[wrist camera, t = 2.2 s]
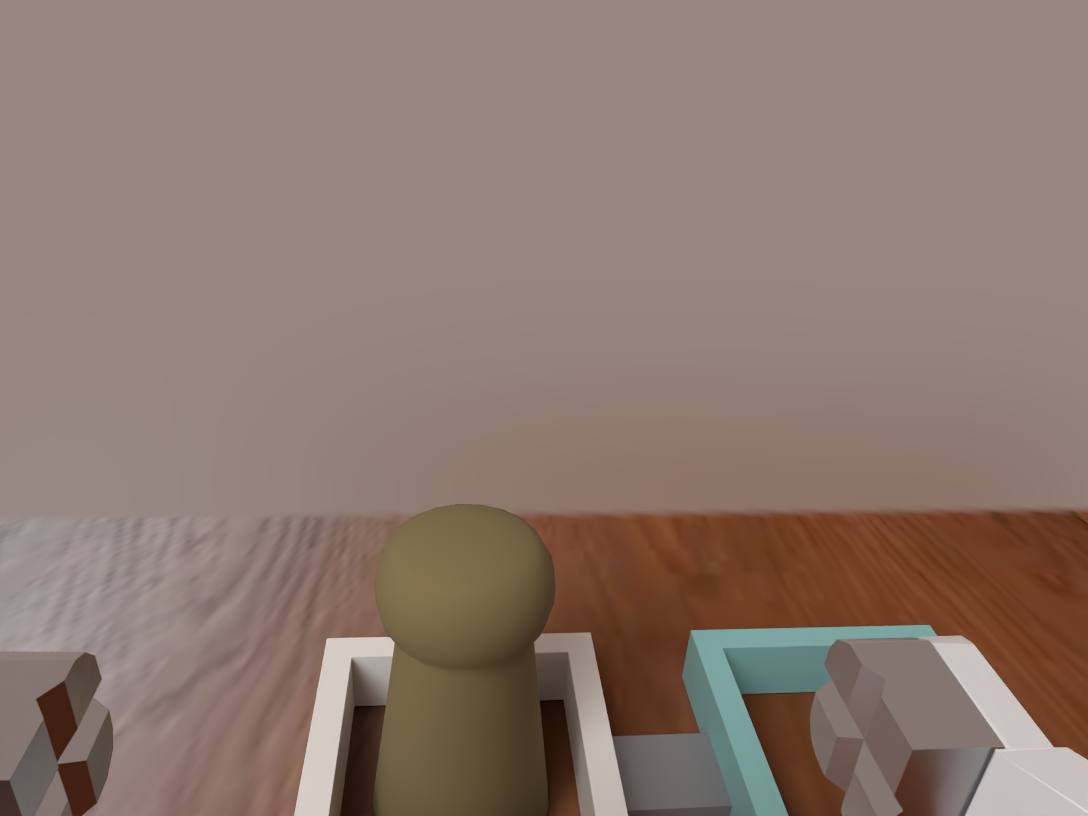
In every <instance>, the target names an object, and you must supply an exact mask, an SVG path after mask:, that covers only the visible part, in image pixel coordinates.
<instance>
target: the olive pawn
mask: <svg viewBox="0 0 1088 816" xmlns="http://www.w3.org/2000/svg"><path fill="white" fill-rule="evenodd" d="M554 596H555V576H554V567H553V562H552V558H551V554H550V553H549V551H548V549H547V547H546V546H545V544H544V542H543V541H542V539H541V538H540V536H539V535H538V533H537V532H536V530H535V529H534V528H533V527H532V526H530V525H529V524H528V523H527V522H525V521H524V520H523V519H522V518H520V517H518V516H516V515H514V514H512V513H509V512H507V511H505V510H503V509H498V508H494V507H489V506H484V505H472V504H456V505H450V506H443V507H437V508H434V509H431V510H429V511H426V512H423V513H420V514H418V515H416V516H415V517H413V518H412V519H410V520H409V521H407V522H406V523H404V524H403V525H401V527H400V528H399V529H398V531H397V532H396V533H395V535H394V536H393V537H392V539H391V540H390V541H389V543H388V544H387V545H386V547H385V548H384V549H383V551H382V554H381V558H380V561H379V565H378V570H377V574H376V579H375V598H376V603H377V607H378V610H379V614H380V618H381V620H382V623H383V625H384V628H385V631H386V633H387V634H388V635H389V637H390V638H391V639H392V640H393V641H394V643H395V644H394V651H393V658H392V665H391V672H390V679H389V686H388V693H387V700H386V707H385V714H384V722H383V729H382V736H381V743H380V750H379V757H378V764H377V771H376V778H375V785H374V792H373V799H372V811H373V816H546V815H547V812H548V808H549V802H548V782H547V772H546V761H545V751H544V741H543V730H542V720H541V709H540V699H539V689H538V678H537V668H536V658H535V647H534V642H535V641H536V640H537V639H538V638H539V637H540V635H541V633H542V630H543V628H544V626H545V623H546V621H547V619H548V616H549V614H550V611H551V609H552V606H553V604H554Z"/></svg>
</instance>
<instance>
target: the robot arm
mask: <svg viewBox="0 0 1088 816" xmlns="http://www.w3.org/2000/svg"><path fill="white" fill-rule="evenodd" d="M824 665H825V667H826V669H827V671H828V673H829V675H830V677H831V680H829V681H828V682H827V683H826V684H825V685H824V686H822V687H821V688H820V689H819V690H818V691H817V692H816V693H815V696H814V700H813V704H812V708H811V712H810V728H811V740H812V744H813V747H814V751H815V755H816V758H817V760H818V762H819V765H820V767H821V769H822V772H823V774H824V776H825V777H826V778H828V779H829V780H830V781H831V782H833V783H834V784H835V785H836V786H838V787H839V788H840V789H841V790H843V791H844V792H845V796H844V800H843V804H842V807H841V813H842V815H843V816H1088V760H1087V759H1085V758H1084V757H1082V756H1080V755H1079V754H1077V753H1075V752H1074V751H1072V750H1071V749H1069V748H1067V747H1053V746H1052V744H1051V743H1050V742H1049V740H1048V739H1047V738H1046V737H1045V735H1044V734H1043V733H1042V731H1041V730H1040V729H1039V728H1038V726H1037V725H1036V724H1035V722H1034V721H1033V720H1032V719H1031V717H1030V716H1029V715H1028V713H1027V712H1026V711H1025V710H1024V708H1023V707H1022V706H1021V704H1020V703H1019V702H1018V701H1017V699H1016V698H1015V697H1014V695H1013V694H1012V693H1011V692H1010V690H1009V689H1008V688H1007V686H1006V685H1005V684H1004V683H1003V681H1002V680H1001V679H1000V677H999V676H998V675H997V674H996V672H995V671H994V670H993V668H992V667H991V666H990V665H989V663H988V662H987V661H986V659H985V658H984V657H983V656H982V654H981V653H980V652H979V650H978V649H977V648H976V647H975V645H974V644H973V643H972V642H971V641H969V640H967V639H966V638H964V637H962V636H933V637H919V638H914V637H907V638H869V639H837V640H836V641H835V642H834V643H833V645H832V646H831V647H830V648H829V651H828V654H827V657H826V660H825V663H824ZM100 681H101V675H100V672H99V668H98V665H97V662H96V658H95V656H94V655H91V654H89V653H86V652H0V816H82V815H83V814H84V813H86V812H87V811H88V810H89V809H90V808H92V807H93V806H94V805H95V804H96V803H97V802H98V799H99V797H100V794H101V792H102V789H103V787H104V784H105V782H106V779H107V776H108V771H109V766H110V761H111V756H112V751H113V726H112V722H111V717H110V713H109V710H108V709H107V708H106V707H105V706H103V705H102V704H101V703H100V702H98V701H97V700H96V699H95V698H93V696H94V694H95V692H96V690H97V688H98V686H99V683H100Z"/></svg>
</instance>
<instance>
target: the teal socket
mask: <svg viewBox="0 0 1088 816" xmlns="http://www.w3.org/2000/svg"><path fill="white" fill-rule="evenodd" d="M933 636H937V635H936V633H935V632H934V631H933V629H932V628H931V626H930V625H909V626H864V627H819V628H774V629H729V630H691V632H690V637H689V642H688V647H687V653H686V658H685V663H684V668H683V674H682V679H683V682H684V685H685V688H686V691H687V694H688V697H689V700H690V703H691V707H692V710H693V713H694V716H695V719H696V722H697V725H698V728H699V732H700V733H708V734H709V737H710V740H711V743H712V746H713V749H714V752H715V755H716V758H717V761H718V764H719V767H720V770H721V773H722V776H723V779H724V782H725V785H726V789H727V792H728V795H729V798H730V801H731V804H732V809H731V812H730V816H788V813H787V811H786V808H785V806H784V803H783V801H782V798H781V795H780V793H779V790H778V788H777V785H776V783H775V780H774V778H773V775H772V773H771V770H770V767H769V765H768V762H767V760H766V757H765V755H764V752H763V750H762V747H761V745H760V742H759V739H758V737H757V734H756V732H755V729H754V727H753V724H752V722H751V719H750V717H749V714H748V712H747V709H746V706H745V704H744V701H743V699H742V696H741V694H759V693H791V692H817V691H818V690H819V689H820V688H821V687H822V686H824V685H825V684H826V683H827V682H828V681H829V680H831V677H830V675H829V673H828V671H827V669H826V667H825V665H824V663H825V660H826V657H827V654H828V651H829V648H830V647H831V646H832V645H833V643H834V642H835V641H836V640H837V639H869V638H907V637H914V638H919V637H933Z"/></svg>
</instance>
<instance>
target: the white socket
mask: <svg viewBox="0 0 1088 816" xmlns="http://www.w3.org/2000/svg"><path fill="white" fill-rule="evenodd" d="M394 644H395V643H394V641H393V640H392V639H391V638H390V637H370V638H327V642H326V647H325V653H324V658H323V663H322V669H321V674H320V679H319V685H318V690H317V696H316V701H315V706H314V712H313V717H312V723H311V728H310V733H309V739H308V744H307V750H306V755H305V760H304V766H303V771H302V777H301V782H300V787H299V793H298V798H297V804H296V809H295V814H294V816H340V813H341V805H342V798H343V790H344V783H345V775H346V767H347V760H348V752H349V745H350V737H351V729H352V722H353V714H354V707H355V706H378V705H386V700H387V693H388V686H389V679H390V672H391V665H392V658H393V651H394ZM534 647H535V658H536V668H537V678H538V689H539V699H540V700H563V701H564V707H565V714H566V721H567V727H568V734H569V741H570V747H571V754H572V761H573V767H574V774H575V781H576V787H577V794H578V800H579V807H580V814H581V816H730V812H731V809H732V804H731V801H730V798H729V795H728V792H727V789H726V785H725V782H724V779H723V776H722V773H721V770H720V767H719V764H718V761H717V758H716V755H715V752H714V749H713V746H712V743H711V740H710V737H709V734H708V733H690V734H663V735H636V736H612V735H611V730H610V725H609V720H608V715H607V710H606V705H605V701H604V696H603V691H602V686H601V681H600V676H599V671H598V667H597V662H596V657H595V652H594V647H593V642H592V637H591V633H550V634H541V635H540V637H539V638H538V639H537V640H536V641H535V642H534Z"/></svg>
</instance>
